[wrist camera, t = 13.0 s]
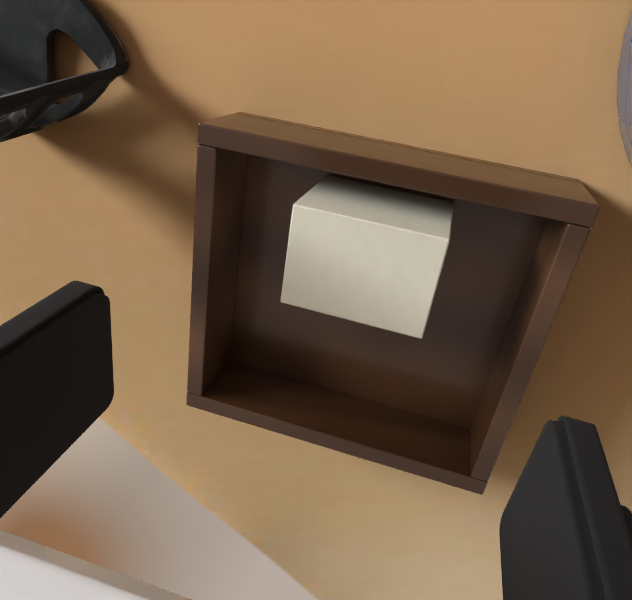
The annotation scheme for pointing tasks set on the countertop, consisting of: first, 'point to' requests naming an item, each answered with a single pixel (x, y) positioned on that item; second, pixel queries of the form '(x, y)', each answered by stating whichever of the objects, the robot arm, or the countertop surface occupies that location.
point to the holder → (36, 62)
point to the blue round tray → (626, 90)
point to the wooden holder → (365, 340)
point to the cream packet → (367, 254)
